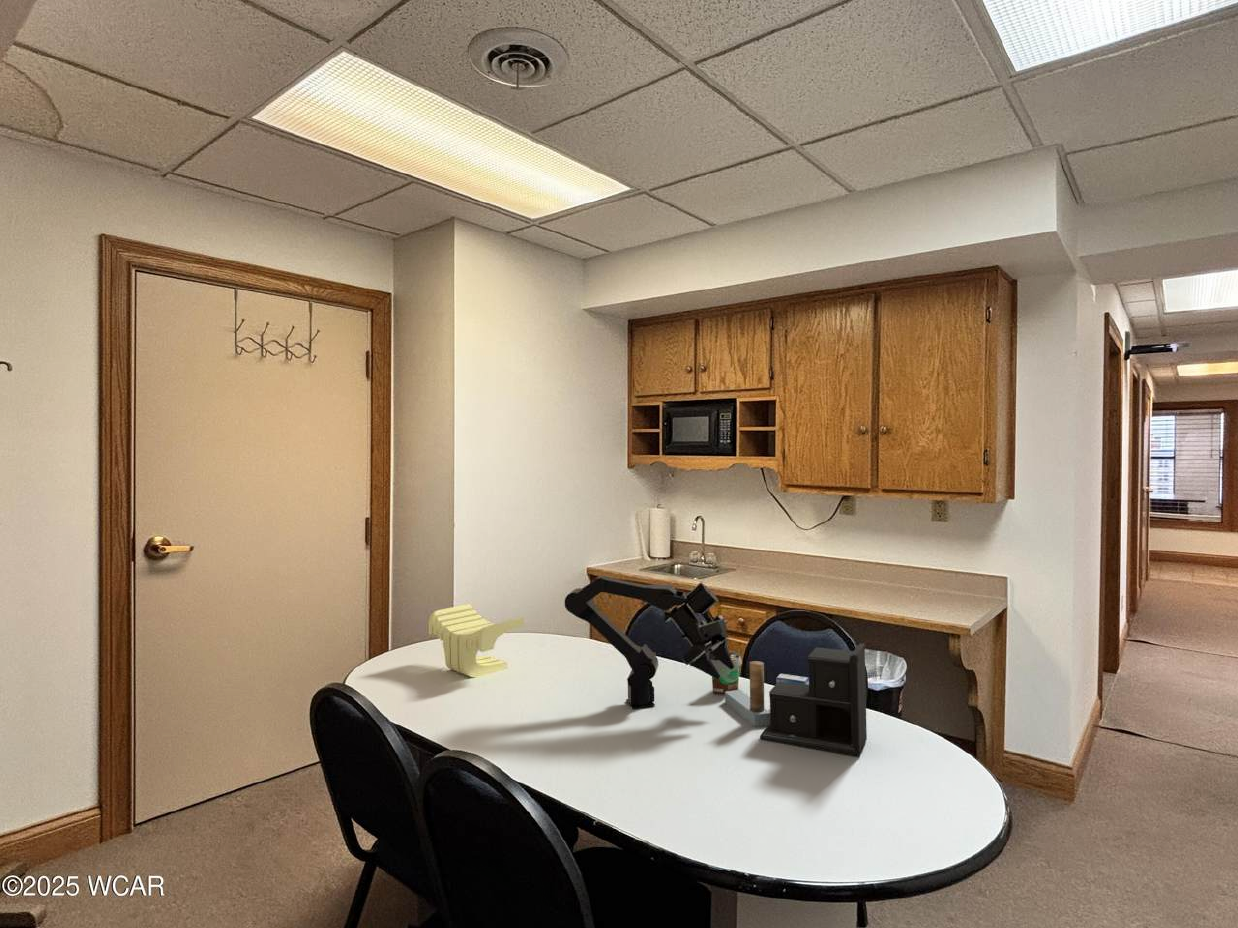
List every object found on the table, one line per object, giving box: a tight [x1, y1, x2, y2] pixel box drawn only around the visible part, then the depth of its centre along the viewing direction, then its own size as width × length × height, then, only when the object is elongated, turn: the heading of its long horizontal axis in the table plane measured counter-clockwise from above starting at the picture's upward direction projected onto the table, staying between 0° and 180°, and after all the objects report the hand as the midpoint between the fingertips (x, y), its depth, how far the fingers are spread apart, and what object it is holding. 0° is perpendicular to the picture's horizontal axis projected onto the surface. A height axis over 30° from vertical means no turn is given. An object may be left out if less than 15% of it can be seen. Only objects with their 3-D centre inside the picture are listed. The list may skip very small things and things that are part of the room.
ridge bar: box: [724, 689, 770, 728], centre depth 188 cm, size 4×18×3 cm, turn 16°
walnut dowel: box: [749, 660, 765, 712], centre depth 182 cm, size 4×4×12 cm
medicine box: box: [776, 673, 809, 685], centre depth 191 cm, size 8×4×9 cm, turn 62°
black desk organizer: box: [759, 642, 868, 757], centre depth 170 cm, size 23×11×24 cm, turn 62°
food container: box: [710, 650, 743, 696], centre depth 205 cm, size 12×6×10 cm, turn 143°
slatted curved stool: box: [428, 603, 525, 678], centre depth 229 cm, size 30×16×18 cm, turn 46°
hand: (726, 673), depth 187 cm, fingers open, 9 cm apart
